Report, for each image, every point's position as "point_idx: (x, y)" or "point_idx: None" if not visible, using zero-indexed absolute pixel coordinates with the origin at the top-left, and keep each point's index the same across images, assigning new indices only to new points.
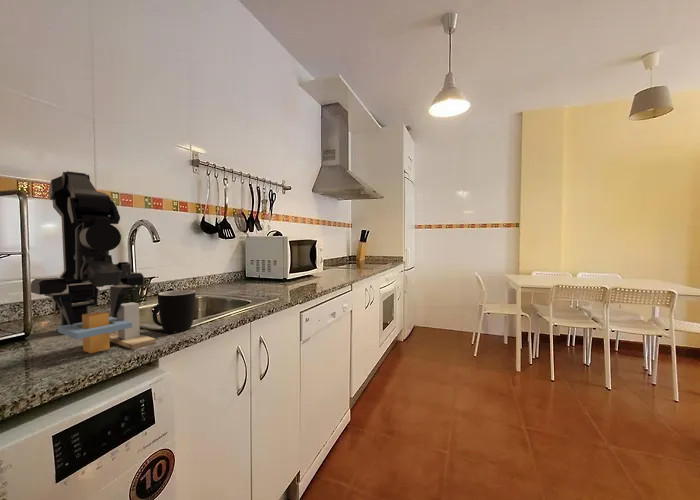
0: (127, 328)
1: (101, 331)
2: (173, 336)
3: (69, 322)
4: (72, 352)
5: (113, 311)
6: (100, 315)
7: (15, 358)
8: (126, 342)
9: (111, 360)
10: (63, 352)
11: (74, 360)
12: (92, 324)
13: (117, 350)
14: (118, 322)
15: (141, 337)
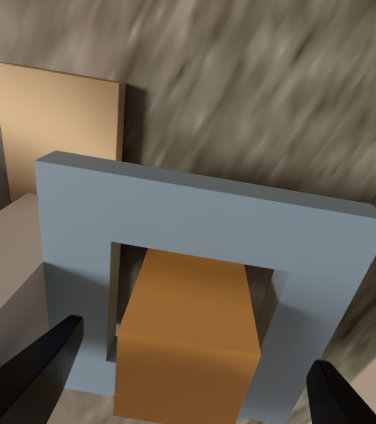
0: (84, 156)
1: (242, 187)
2: None
3: (340, 379)
4: (248, 283)
5: (61, 358)
6: (181, 336)
7: (337, 370)
8: (112, 157)
9: (275, 7)
10: (257, 308)
11: (315, 187)
12: (233, 300)
13: (166, 142)
14: (92, 246)
15: (31, 166)
